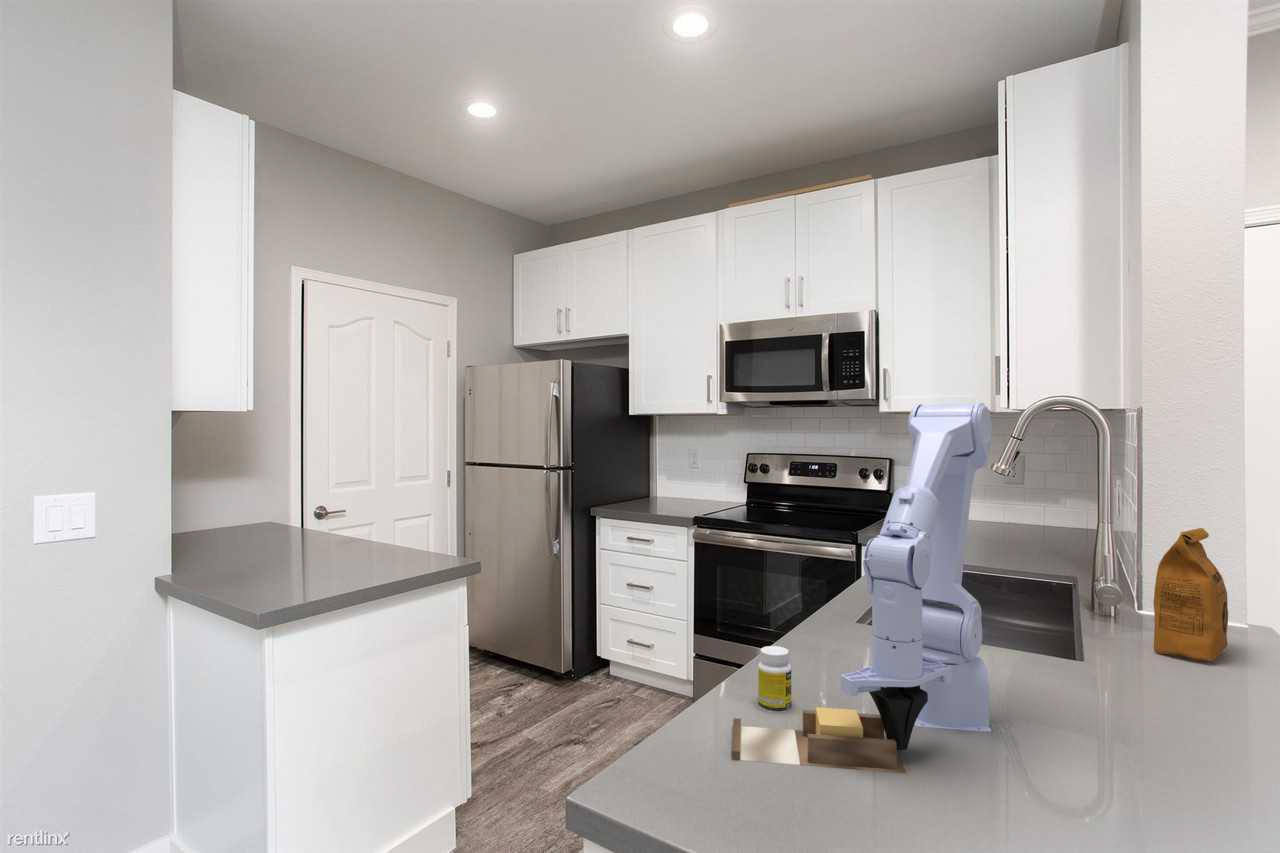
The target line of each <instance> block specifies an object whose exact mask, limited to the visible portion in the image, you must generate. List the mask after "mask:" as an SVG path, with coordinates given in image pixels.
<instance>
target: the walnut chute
mask: <svg viewBox="0 0 1280 853" xmlns="http://www.w3.org/2000/svg"><path fill="white" fill-rule="evenodd" d="M857 713H858V712H857ZM858 716H859V718H860V721H861V724H862V726H863V738H861V737H847V736H833V735H819V734H816V709H815V710H814V709H813V710H812V709H802V730H800V729H789V728H787V729H785V728H770V727H755V726H746V725H745V726H743V725H742V719H741V718H736V717H733V720H732V723H733V724H732V736H731V737H732V740H731V742H732V743H731V760H732V761H743V762H755V763H758V762H759V763H770V764H771V763H772V764H783V765H794V766H795V765H796V766H808V767H818V768H819V767H820V768H831V769H832V768H833V769H845V770H859V771H868V772H869V771H870V772H882V773H898V774H908V773H907V770H906V768H905V765H904V763H903V762H902V759H901V757H900V756H899V753H898V751H897V744H896V742H895V740H889V739H887V738H886V735H885V729H884V726H883V722H882V719H881V716H880V714H876V713H875V714H874V713H862V712H861V713H858Z"/></svg>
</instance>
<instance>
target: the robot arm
mask: <svg viewBox="0 0 1280 853" xmlns="http://www.w3.org/2000/svg"><path fill="white" fill-rule="evenodd" d="M991 416H992V415H991V412H990V410H989V407H988V406H986V404H985V403H984V402H976V403H956V404H955V403H953V404H952V403H951V404H922V403H918V404H915V405H914V407H913V408H912V409H911V411H910V412H909V415H908V421H907V422H908V423H907V424H908V425H907V428H908V430H907V432H908V435H909V438H910V441H911V445H912V449H913V450H914V451H913V454H912V458H911V463H910V466H909V471H908V476H907V480H906V485H905V486H903V487H900V488H898V489H897V490H895V491H894V493H893V495H892V498H891V501H890V504H889V507H888V510H887V512H886V515H885V518H884V521H883V524H882V526H881V529H880V532H879V534H878V535H876V537H874V538H873V537H872V538H871V539H869V540H868V541H867V543H866V546H865V548H864V554H863V559H862V566H863V572H864V575H865V578H866V581H867V592H868V595H870V596H871V603H872V604H871V609H872V611H871V612H872V613H871V614H872V615H871V621H872V627H871V628H872V630H871V632H872V636H871V637H872V638H871V639H872V641H871V642H872V643H871V644H872V647H871V648H872V651H871V652H872V660H871V661H870V665H868V666H866V667H864V668H860V669H859V670H856V671H853V672H850V673H845V674H844V673H843V674H841V675H840V677H841V678H840V686H841V689H840V691H841V692H843V693H845V694H846V695H848V696H849V697H851V698H852V697H857V696H858V694H861V693H862V694H863V693H869V696H871V698H872V699H873V702H874V704H875V706H876V708H877V711H878V715H880V716H881V719H882V722H883V726H884V735H885V736H886V738H887V739H889V740H895V742H896V744H897V752H899V751H907V750H908V746H909V743H910V739H911V736H912V734H913V729H914V726H915V727H917V728H923V729H924V728H925V729H926V728H927V729H937V730H938V729H940V730H942V729H943V730H953V731H954V730H955V731H969V732H981V733H982V732H984V733H989V734H991V733H992V729H991V728H990V681H989V680H990V679H989V674H988V670H987V666H986V663H985V662H984V660H983V659H982V658H981V657H980V656H978V654H979V652H980V650H981V647H982V641H983V626H982V625H983V624H982V610H983V609H982V607H981V605H980V602H979V601H978V600H977V599H976V598H975V597H974V596H973V595H972V594H971V593H970V592H968V591H967V590H966V589H965V587H963V586H962V581H963V572H964V562H965V555H966V554H965V553H966V547H967V546H966V545H967V535H968V528H969V527H968V526H969V517H970V509H971V500H972V499H971V498H972V489H973V484H974V479H975V475H976V471H977V470H979V469H982V468H983V467H986V466H987V465H988V462H989V460H988V459H989V457H990V453H991V452H990V451H991V441H992V434H993V426H992V417H991ZM928 603H929V604H928ZM932 604H936V605H932ZM938 605H942V606H948V607H942V606H938ZM949 607H954V608H958V609H954V608H949ZM959 608H961V609H962V610H959Z"/></svg>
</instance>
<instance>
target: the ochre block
mask: <svg viewBox="0 0 1280 853" xmlns="http://www.w3.org/2000/svg"><path fill="white" fill-rule="evenodd" d="M815 711H816V734H819V735H833V736H847V737H861V738H863V726H862V724H861V721H860V718H859V716H858V711H857V709H850V708H849V709H847V708H832V707H831V708H830V707H819V706H818V707H817V706H816V707H815Z"/></svg>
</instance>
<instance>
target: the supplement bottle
mask: <svg viewBox="0 0 1280 853" xmlns="http://www.w3.org/2000/svg"><path fill="white" fill-rule="evenodd" d="M789 651H790V650H789V649H787V648H785V647H783V646H778V645H777V646H776V645H769V646H763V647H762V648H760V655H759V656H760V661H759V662H758V666H757V677H758V678H757V706H758V707H759V708H760V709H762V710H763V711H765V712H768V713H769V712H770V713H776V714H777V713H779V714H780V713H786V712H788V711H790V710H791V709H792V666H791V664H790V663H789V661H790V652H789Z"/></svg>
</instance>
